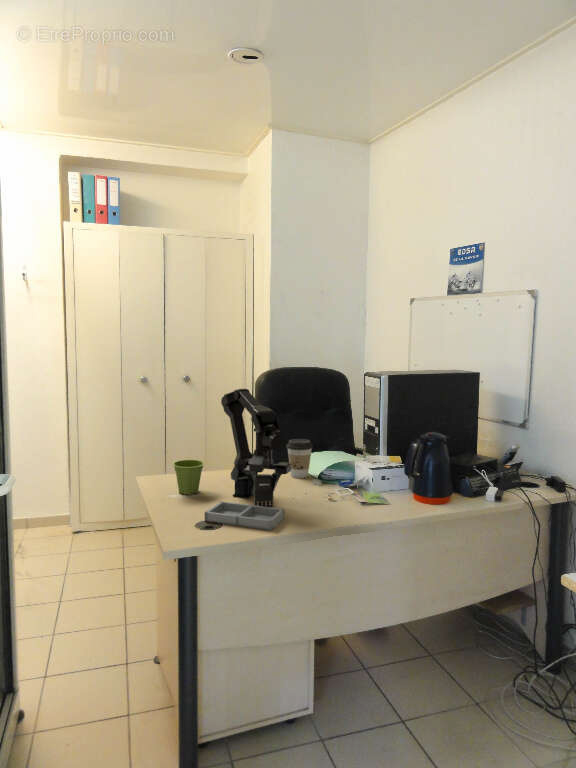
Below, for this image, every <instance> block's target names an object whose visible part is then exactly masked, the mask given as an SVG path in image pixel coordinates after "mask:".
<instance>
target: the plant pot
mask: <svg viewBox="0 0 576 768" xmlns="http://www.w3.org/2000/svg"><path fill="white" fill-rule="evenodd" d="M172 466H173V467H174V471H175V475H176V481H177V487H178V493H179V492H180V493H179V494H183V495H185V494H188V495H194V494H193V493H196V492H197V493H198V492H199V490H200V484H201V483H200V482H201V477H202V471H203V469H204V466H205V462H204V461H202V460H200V459H199V460H198V459H181V460H176V461H174V462H173V463H172ZM197 493H196V494H197Z"/></svg>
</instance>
